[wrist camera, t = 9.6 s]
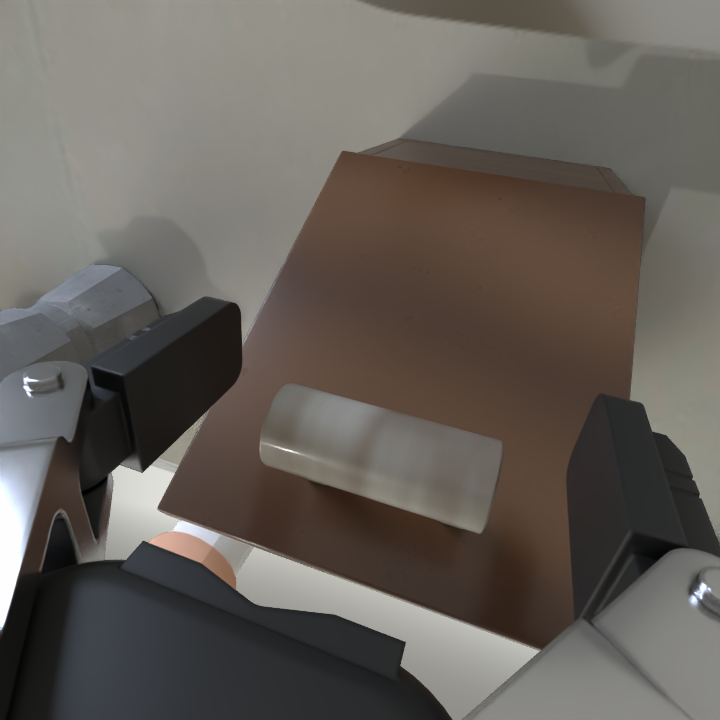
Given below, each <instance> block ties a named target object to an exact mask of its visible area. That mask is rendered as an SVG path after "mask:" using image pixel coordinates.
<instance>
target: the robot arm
mask: <svg viewBox="0 0 720 720" xmlns="http://www.w3.org/2000/svg"><path fill="white" fill-rule="evenodd" d="M242 363H243V358H242V331H241V312H240V308H239V306H238V305H237V304H236V303H232V302H228V301H224V300H220V299H216V298H212V297H207V296H206V297H202V298H201V299H199V300H197V301H196V302H194V303H192V304H191V305H189V306H188V307H186V308H184V309H183V310H181V311H179V312H176V313H173V314H169V315H166V316H163V317H160V318H158V319H156V320H155V321H153V322H151V323H149V324H148V325H146V326H144V327H143V330H140V329H139V330H138V331H136V332H134V333H133V334H131V335H129V338H124V339H123V340H121V341H119V342H118V343H116V344H114V345H113V346H111V347H109V348H108V349H106V350H104V351H103V352H101V353H99V354H98V355H96V356H94V357H93V358H91V359H89V360H87V361H86V362H84V363H82V364H81V365H79V364H77V363H74V362H69V361H48V362H41V363H36V364H32V365H29V366H26V367H23V368H21V369H18V370H16V371H14V372H13V373H11V374H9V375H8V376H7V377H5V378H4V379H3V380H2V381H0V720H452V718H451V717H450V716H449V714H448V713H447V712H446V710H445V708H444V707H443V706H442V705H441V704H440V702H439V701H438V700H437V699H436V698H435V697H434V695H433V694H432V693H431V692H430V691H429V690H428V689H427V688H426V687H425V686H424V685H423V684H422V683H421V682H420V681H419V680H417V679H416V678H415V677H414V676H413V675H412V674H410V673H409V672H408V671H406V670H405V669H404V668H402V667H401V666H400V664H401V660H402V656H403V652H404V647H405V643H406V642H404V641H401V640H399V639H396V638H393V637H391V636H388V635H386V634H383V633H380V632H378V631H375V630H373V629H370V628H368V627H365V626H362V625H360V624H357V623H355V622H352V621H350V620H347V619H344V618H342V617H339V616H337V615H332V614H323V613H315V612H307V611H298V610H289V609H280V608H272V607H263V606H258V605H256V604H254V603H252V602H251V601H249V600H248V599H247V598H245V597H244V596H243V595H241V594H240V593H239V592H238V591H236V590H235V589H234V588H233V587H231V586H230V585H229V584H227V583H226V582H225V581H224V580H222V579H221V578H220V577H218V576H217V575H216V574H215V573H213V572H212V571H211V570H209V569H208V568H207V567H206V566H204V565H203V564H202V563H200V562H197V561H194V560H192V559H189V558H187V557H184V556H182V555H179V554H176V553H174V552H171V551H169V550H166V549H163V548H161V547H158V546H156V545H153V544H151V543H148V542H145V541H142V543H141V544H140V545H139V546H138V547H137V548H136V550H135V551H134V552H133V553H132V554H131V555H130V556H129V557H128V558H127V560H105V550H106V541H107V533H108V524H109V517H110V508H111V500H112V492H113V477H112V473H111V472H112V471H113V470H114V469H115V468H116V467H118V466H119V465H121V466H124V467H127V468H130V469H133V470H136V471H139V472H141V473H143V472H144V471H145V470H146V469H147V468H148V467H149V466H150V465H151V464H152V463H153V462H154V461H155V460H156V459H157V458H158V457H159V456H160V455H161V454H163V453H164V452H165V451H166V450H167V449H168V448H169V447H170V446H171V445H172V444H173V443H174V442H175V441H176V440H177V439H178V438H179V437H180V436H181V435H182V434H183V433H184V432H185V431H186V430H188V429H189V428H190V427H191V426H192V425H193V424H194V423H195V422H196V421H197V420H198V419H199V418H200V417H201V416H202V415H203V414H204V413H205V412H206V411H207V410H208V409H209V408H210V407H211V406H213V405H214V404H215V403H216V402H217V401H218V400H219V399H220V398H221V397H222V396H223V395H224V394H225V393H226V392H227V391H228V390H229V389H230V388H231V387H232V386H233V385H234V384H235V383H236V381H237V380H238V378H239V375H240V373H241V369H242ZM692 478H693V475H692V473H691V470H690V468H689V465H688V463H687V460H686V457H685V455H684V454H683V453H682V452H681V451H680V450H679V449H678V448H677V447H676V446H675V445H674V443H673V442H672V441H671V440H670V439H669V438H668V437H667V436H666V435H663V434H659V433H655V432H652V430H651V427H650V424H649V421H648V418H647V415H646V411H645V408H644V406H643V404H642V403H640V402H636V401H631V400H627V399H623V398H619V397H615V396H611V395H607V394H603V393H600V394H599V395H598V396H597V397H596V399H595V400H594V402H593V404H592V407H591V409H590V411H589V414H588V416H587V418H586V421H585V423H584V425H583V428H582V430H581V432H580V434H579V437H578V439H577V441H576V444H575V446H574V448H573V451H572V453H571V456H570V459H569V463H568V468H567V475H566V489H567V505H568V522H569V538H570V555H571V571H572V588H573V604H574V621H575V622H573V623H572V624H571V625H570V626H569V627H567V628H566V629H565V630H564V631H563V632H562V633H561V634H559V635H558V636H557V637H556V638H555V639H554V640H552V641H551V642H550V643H549V644H548V645H547V646H546V647H544V648H543V649H542V650H541V651H540V652H539V653H538V654H536V655H535V656H534V657H533V658H532V659H531V660H530V661H528V662H527V663H526V664H525V665H524V666H523V667H521V668H520V669H519V670H518V671H517V672H516V673H515V674H513V675H512V676H511V677H510V678H509V679H508V680H507V681H505V682H504V683H503V684H502V685H501V686H500V687H499V688H497V689H496V690H495V691H494V692H493V693H492V694H490V695H489V696H488V697H487V698H486V699H485V700H484V701H483V702H481V703H480V704H479V705H478V706H477V707H476V708H474V709H473V710H472V711H471V712H470V713H469V714H468V715H466V716H465V717H464V718H463V719H462V720H720V545H719V542H718V540H717V537H716V535H715V532H714V529H713V527H712V524H711V522H710V519H709V517H708V514H707V511H706V509H705V506H704V504H703V501H702V499H701V498H699V495H700V493H699V491H698V488H697V486H696V483H695V481H693V480H692Z"/></svg>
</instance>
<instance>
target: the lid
mask: <svg viewBox="0 0 720 720" xmlns="http://www.w3.org/2000/svg"><path fill="white" fill-rule="evenodd" d="M644 211H645V197H640V196H634V195H627V194H621V193H614V192H608V191H601V190H595V189H588V188H582V187H575V186H569V185H562V184H556V183H549V182H543V181H536V180H530V179H523V178H517V177H510V176H504V175H497V174H491V173H484V172H478V171H471V170H465V169H458V168H452V167H445V166H439V165H432V164H426V163H419V162H413V161H406V160H400V159H393V158H387V157H380V156H374V155H367V154H361V153H354V152H348V151H342V152H341V154H340V156H339V158H338V160H337V162H336V163H335V165H334V167H333V169H332V171H331V173H330V175H329V177H328V179H327V181H326V183H325V185H324V187H323V189H322V191H321V192H320V194H319V196H318V198H317V200H316V202H315V204H314V206H313V208H312V210H311V212H310V214H309V216H308V218H307V220H306V221H305V223H304V225H303V227H302V229H301V231H300V233H299V235H298V237H297V239H296V241H295V243H294V245H293V247H292V248H291V250H290V252H289V254H288V256H287V258H286V260H285V262H284V264H283V266H282V268H281V270H280V272H279V274H278V276H277V277H276V279H275V281H274V283H273V285H272V287H271V289H270V291H269V293H268V295H267V297H266V299H265V301H264V303H263V305H262V306H261V308H260V310H259V312H258V314H257V316H256V318H255V320H254V322H253V324H252V326H251V328H250V330H249V332H248V333H247V335H246V337H245V339H244V341H243V343H242V358H243V363H242V369H241V373H240V375H239V378H238V380H237V381H236V383H235V384H234V385H233V386H232V387H231V388H230V389H229V390H228V391H227V392H226V393H225V394H224V395H223V396H222V397H221V398H220V399H219V400H218V401H217V402H216V403H215V404H214V405H213V406H211V407H210V408H209V409H208V411H207V413H206V415H205V417H204V418H203V420H202V422H201V424H200V426H199V428H198V430H197V432H196V434H195V436H194V438H193V440H192V442H191V444H190V446H189V447H188V449H187V451H186V453H185V455H184V457H183V459H182V461H181V463H180V465H179V467H178V469H177V471H176V473H175V475H174V477H173V478H172V480H171V482H170V484H169V486H168V488H167V490H166V492H165V494H164V496H163V498H162V500H161V502H160V503H159V506H158V510H159V511H160V512H162V513H165V514H166V515H169V516H171V517H174V518H177V519H180V520H182V521H185V522H188V523H191V524H193V525H196V526H199V527H202V528H204V529H207V530H210V531H213V532H215V533H218V534H221V535H223V536H226V537H229V538H232V539H234V540H237V541H240V542H243V543H245V544H248V545H251V546H254V547H256V548H259V549H262V550H265V551H267V552H270V553H273V554H276V555H278V556H281V557H284V558H286V559H289V560H292V561H295V562H298V563H300V564H303V565H306V566H308V567H311V568H314V569H317V570H319V571H322V572H325V573H327V574H330V575H333V576H336V577H339V578H341V579H344V580H347V581H349V582H352V583H355V584H358V585H361V586H363V587H366V588H369V589H371V590H374V591H377V592H380V593H382V594H385V595H388V596H390V597H393V598H396V599H399V600H401V601H404V602H407V603H410V604H413V605H415V606H418V607H421V608H424V609H426V610H429V611H432V612H434V613H437V614H440V615H442V616H445V617H448V618H451V619H454V620H457V621H459V622H462V623H464V624H467V625H470V626H473V627H476V628H478V629H481V630H483V631H487V632H489V633H492V634H495V635H498V636H500V637H503V638H505V639H508V640H511V641H514V642H516V643H519V644H522V645H525V646H527V647H530V648H533V649H536V650H538V651H541V650H542V649H543V648H544V647H546V646H547V645H548V644H549V643H550V642H551V641H552V640H554V639H555V638H556V637H557V636H558V635H559V634H561V633H562V632H563V631H564V630H565V629H566V628H567V627H569V626H570V625H571V624H572V623H573V622H575V621H574V604H573V588H572V571H571V555H570V538H569V522H568V505H567V489H566V475H567V468H568V463H569V459H570V456H571V453H572V451H573V448H574V446H575V444H576V441H577V439H578V437H579V434H580V432H581V430H582V428H583V425H584V423H585V421H586V418H587V416H588V414H589V411H590V409H591V407H592V404H593V402H594V400H595V399H596V397H597V396H598V395H599V394H600V393H603V394H607V395H611V396H615V397H619V398H623V399H627V400H630V391H631V379H632V366H633V353H634V340H635V327H636V314H637V301H638V288H639V275H640V262H641V249H642V237H643V224H644Z"/></svg>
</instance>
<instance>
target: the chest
mask: <svg viewBox="0 0 720 720" xmlns="http://www.w3.org/2000/svg"><path fill="white" fill-rule="evenodd" d="M359 153H361V154H367V155H374V156H380V157H387V158H393V159H400V160H406V161H413V162H419V163H426V164H432V165H439V166H445V167H452V168H458V169H465V170H471V171H478V172H484V173H491V174H497V175H504V176H510V177H517V178H523V179H530V180H536V181H543V182H549V183H556V184H562V185H569V186H575V187H582V188H588V189H595V190H601V191H608V192H614V193H621V194H627V195H632V194H631V193H630V191H629V190H628V189H627V188H626V187H625V186H624V184H623V183H622V182H621V181H620V180H619V179H618V177H617V176H616V175H615V174H614V173H613V171H612V170H611V169H610V168H604V167H597V166H590V165H583V164H576V163H569V162H562V161H555V160H549V159H542V158H535V157H528V156H521V155H514V154H507V153H500V152H493V151H486V150H479V149H472V148H465V147H458V146H451V145H444V144H437V143H430V142H423V141H416V140H409V139H402V138H398V139H396V140H393V141H390V142H387V143H384V144H381V145H379V146H376V147H373V148H370V149H367V150H364V151H362V152H359Z"/></svg>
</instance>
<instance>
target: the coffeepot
mask: <svg viewBox="0 0 720 720" xmlns="http://www.w3.org/2000/svg"><path fill="white" fill-rule="evenodd" d="M158 318H160V315H159V312H158V309H157V306H156V304H155V302H154V300H153V297H152V296H151V294H150V293H149V292H148V290H147V289H146V288H145V287H144V285H143V284H142V283H141V282H140V281H139V280H138V279H136V278H135V277H134V276H133V275H131V274H130V273H128V272H127V271H125V270H124V269H123V268H121V267H115V266H111V265H93V264H90V265H88V266H87V267H85V268H84V269H83V270H81V271H80V272H78V273H77V274H75V275H74V276H72V277H71V278H69V279H68V280H66V281H65V282H63V283H62V284H60V285H59V286H57V287H56V288H54V289H53V290H51V291H50V292H48V293H47V294H45V295H44V296H42V297H41V298H40V299H39V300H38V301H37V302H36V303H35V305H34V306H32V307H29V308H27V309H21V308H10V309H6V310H2V311H0V381H2V380H3V379H4V378H5V377H7V376H8V375H9V374H11V373H13V372H14V371H16V370H18V369H21V368H23V367H26V366H29V365H32V364H36V363H41V362H48V361H69V362H74V363H77V364H79V365H81V364H82V363H84V362H86V361H87V360H89V359H91V358H93V357H94V356H96V355H98V354H99V353H101V352H103V351H104V350H106V349H108V348H109V347H111V346H113V345H114V344H116V343H118V342H119V341H121V340H123V339H124V338H129V335H131V334H133V333H134V332H136V331H138V330H139V329H140V330H143V327H144V326H146V325H148V324H149V323H151V322H153V321H155V320H156V319H158Z"/></svg>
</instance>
